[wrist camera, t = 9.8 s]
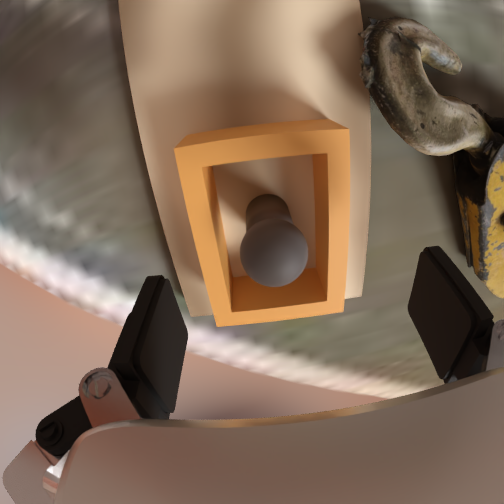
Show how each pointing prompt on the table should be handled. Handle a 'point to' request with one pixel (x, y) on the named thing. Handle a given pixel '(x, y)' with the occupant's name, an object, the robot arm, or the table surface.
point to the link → (326, 218)
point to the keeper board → (249, 123)
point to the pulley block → (442, 131)
